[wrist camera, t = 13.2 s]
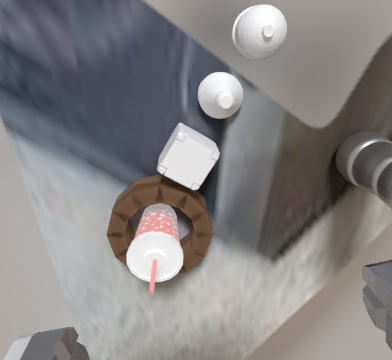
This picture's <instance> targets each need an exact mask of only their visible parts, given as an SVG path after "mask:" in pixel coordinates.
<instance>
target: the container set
mask: <svg viewBox="0 0 392 360" xmlns="http://www.w3.org/2000/svg"><path fill="white" fill-rule="evenodd" d="M286 34H287V24H286V20H285V18H284V16H283V14H282V13H281V12H280V11H279V10H278V9H277V8H275V7H274V6H271V5H257V6H252V7H250V8H247V9H246V10H244V11H243V12H242V13H240V14H239V16H238V17H237V18H236V20H235V22H234V25H233V28H232V41H233V44H234V46H235V48H236V50H237V51H238V52H239V53H240V54H241V55H242V56H244V57H246V58H249V59H262V58H267V57H270V56H272V55H273V54H275V53H276V52H277V51H278V50H279V49H280V48H281V47H282V45H283V43H284V41H285V38H286ZM242 100H243V90H242V86H241V84H240V83H239V81H238V80H237V79H236V78H235V77H233V76H232V75H230V74H228V73H224V72H216V73H213V74H210V75H209V76H207V77H206V78H205V79H204V80H203V81H202V83H201V84H200V86H199V90H198V101H199V103H200V106H201V108H202V109H203V111H204V112H205V113H206V114H207V115H209V116H211V117H213V118H217V119H223V118H227V117H230V116H231V115H233V114H234V113H235V112H236V111H237V110H238V109H239V108H240V106H241V104H242ZM219 154H220V153H219V151H218V148H217V146H216V143H215V142H214V141H212V140H211V139H210V140H209V138H207V137H205V136H204V135H202V134H200V133H198V132H197V131H195V130H193V129H191V128H190V127H188V126H185V125H184V124H182V123H178V125H177V126H176V128H175V130H174V132H173V133H172V135H171V137H170V139H169V140H168V142H167V144H166V146H165V147H164V149H163V151H162V153H161V154H160V157H159V161H158V168H157V170H158V171H159V172H160V173H161V174H163V173H164V175H165V176H167V177H169V178H171V179H173V180H174V181H176V182H178V183H180V184H182V185H184V186H186V187H188V188H190V187H191V189H192V190H197V189H199V187H200V186H201V184H202V183H203V181H204V179H205V178H206V176H207V175H208V173H209V172H210V170H211V169H212V167H213V165H214V164H215V162H216V160H217V159H218V157H219Z"/></svg>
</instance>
